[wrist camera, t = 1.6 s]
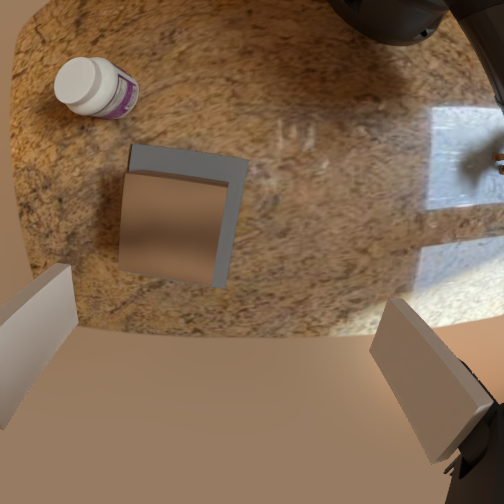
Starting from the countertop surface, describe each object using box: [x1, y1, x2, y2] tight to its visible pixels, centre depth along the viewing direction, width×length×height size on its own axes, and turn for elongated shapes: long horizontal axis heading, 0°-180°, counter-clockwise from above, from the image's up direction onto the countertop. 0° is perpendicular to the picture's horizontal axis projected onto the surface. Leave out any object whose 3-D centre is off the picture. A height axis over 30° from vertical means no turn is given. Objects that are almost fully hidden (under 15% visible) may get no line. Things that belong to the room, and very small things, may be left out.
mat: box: [121, 144, 249, 289], centre depth 30 cm, size 14×12×1 cm
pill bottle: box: [54, 57, 139, 120], centre depth 21 cm, size 5×5×10 cm
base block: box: [118, 169, 229, 286], centre depth 27 cm, size 9×9×5 cm
